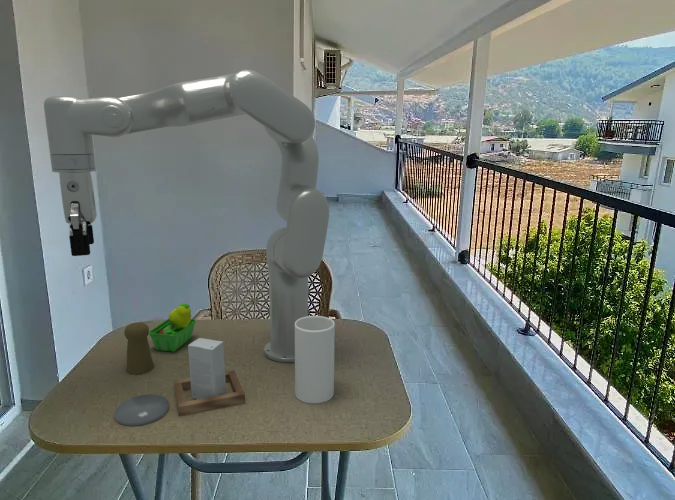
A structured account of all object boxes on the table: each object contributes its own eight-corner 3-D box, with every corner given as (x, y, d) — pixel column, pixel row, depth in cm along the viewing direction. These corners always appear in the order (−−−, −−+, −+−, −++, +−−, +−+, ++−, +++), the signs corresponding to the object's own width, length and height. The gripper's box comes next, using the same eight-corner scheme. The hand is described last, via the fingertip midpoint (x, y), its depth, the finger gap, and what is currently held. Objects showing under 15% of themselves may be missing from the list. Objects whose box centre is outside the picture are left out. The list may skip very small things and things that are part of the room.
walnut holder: (234, 378, 109) (234, 370, 108) (245, 403, 99) (245, 394, 98) (174, 389, 104) (173, 380, 103) (178, 416, 94) (178, 407, 93)
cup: (306, 407, 98) (306, 334, 94) (288, 389, 104) (287, 320, 100) (341, 396, 102) (342, 325, 98) (321, 379, 109) (321, 313, 105)
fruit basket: (172, 333, 132) (169, 294, 129) (202, 336, 130) (200, 297, 128) (148, 351, 121) (144, 309, 118) (180, 355, 119) (177, 312, 117)
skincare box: (226, 393, 102) (224, 341, 99) (215, 404, 98) (212, 349, 96) (202, 388, 104) (199, 336, 101) (190, 398, 100) (186, 345, 97)
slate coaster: (167, 393, 102) (166, 390, 102) (170, 419, 93) (170, 415, 93) (115, 403, 98) (114, 399, 98) (113, 430, 89) (113, 427, 89)
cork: (144, 376, 109) (140, 330, 106) (120, 373, 110) (115, 328, 108) (159, 364, 115) (155, 320, 112) (136, 361, 116) (132, 318, 113)
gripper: (91, 166, 87) (101, 258, 91) (98, 160, 103) (106, 239, 107) (43, 167, 84) (56, 261, 88) (57, 161, 100) (67, 241, 104)
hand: (83, 249), depth 98 cm, fingers open, 9 cm apart
